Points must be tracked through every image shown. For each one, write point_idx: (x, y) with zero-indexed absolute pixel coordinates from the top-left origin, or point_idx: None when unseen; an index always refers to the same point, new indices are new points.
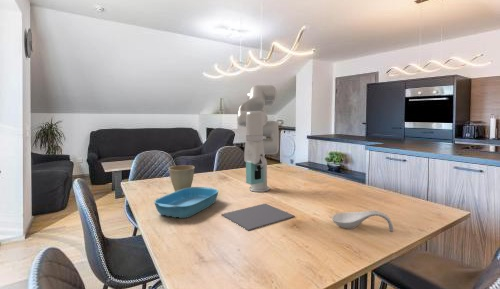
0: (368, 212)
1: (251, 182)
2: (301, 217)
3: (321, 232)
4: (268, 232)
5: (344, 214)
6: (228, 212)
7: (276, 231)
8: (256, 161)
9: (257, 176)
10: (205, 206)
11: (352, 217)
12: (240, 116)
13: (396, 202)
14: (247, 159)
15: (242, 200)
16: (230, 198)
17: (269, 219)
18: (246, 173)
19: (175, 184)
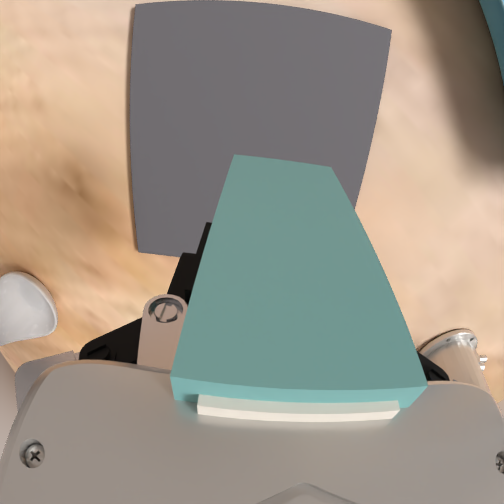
0: (7, 337)
1: (230, 165)
2: (125, 261)
3: (16, 213)
4: (80, 68)
5: (50, 325)
6: (384, 67)
7: (70, 100)
8: (21, 406)
9: (185, 256)
10: (496, 46)
11: (39, 322)
12: None
13: None
14: (405, 453)
15: (445, 242)
16: (494, 226)
17: (163, 146)
18: (347, 217)
19: None
